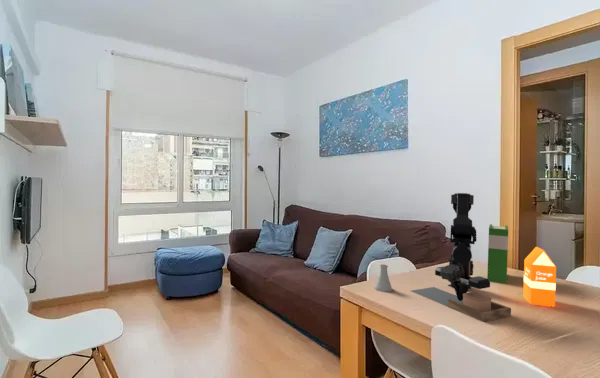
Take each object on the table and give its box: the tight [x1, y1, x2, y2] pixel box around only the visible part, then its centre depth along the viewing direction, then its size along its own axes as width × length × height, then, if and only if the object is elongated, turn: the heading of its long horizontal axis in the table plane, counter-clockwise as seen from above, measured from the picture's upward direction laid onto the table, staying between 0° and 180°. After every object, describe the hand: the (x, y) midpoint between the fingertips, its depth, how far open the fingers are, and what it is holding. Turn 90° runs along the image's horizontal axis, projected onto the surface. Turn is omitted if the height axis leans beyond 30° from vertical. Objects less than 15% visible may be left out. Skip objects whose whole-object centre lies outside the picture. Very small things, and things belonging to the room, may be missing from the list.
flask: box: [374, 263, 393, 293], centre depth 135 cm, size 7×7×10 cm
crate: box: [463, 291, 493, 312], centre depth 113 cm, size 6×6×5 cm
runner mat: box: [410, 286, 484, 323], centre depth 121 cm, size 13×32×1 cm, turn 25°
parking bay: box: [447, 299, 512, 323], centre depth 113 cm, size 13×14×2 cm
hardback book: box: [486, 223, 509, 285], centre depth 155 cm, size 18×7×24 cm, turn 149°
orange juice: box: [522, 246, 557, 308], centre depth 124 cm, size 8×9×20 cm
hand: (460, 300), depth 119 cm, fingers closed
